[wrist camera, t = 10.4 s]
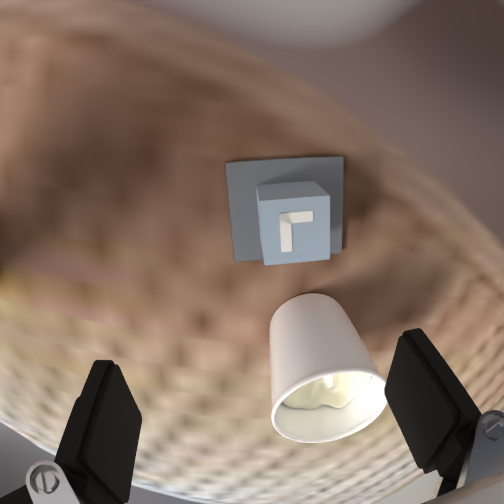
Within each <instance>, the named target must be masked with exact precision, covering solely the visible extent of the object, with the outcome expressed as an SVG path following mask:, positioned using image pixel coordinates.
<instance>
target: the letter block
mask: <svg viewBox="0 0 504 504" xmlns="http://www.w3.org/2000/svg"><path fill="white" fill-rule="evenodd" d="M256 193H257V205H258V216H259V228H260V240H261V246H262V252H263V258H264V264H265V266H266V265H276V264H287V263H297V262H307V261H316V260H326V259H330V195H329V194H328V193H327V192H326V191H325V190H324V189H323V188H321V187H320V186H319V185H318V184H317V183H316V182H315V181H303V182H289V183H277V184H265V185H256Z"/></svg>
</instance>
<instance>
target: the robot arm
mask: <svg viewBox="0 0 504 504" xmlns="http://www.w3.org/2000/svg"><path fill="white" fill-rule="evenodd" d="M384 394H385V397H386V400H387V402H388V404H389V406H390V408H391V410H392V412H393V414H394V416H395V418H396V421H397V423H398V425H399V427H400V429H401V431H402V433H403V436H404V438H405V440H406V442H407V444H408V447H409V449H410V451H411V453H412V455H413V458H414V460H415V462H416V464H417V466H418V467H419V468H420V469H423V471H424V473H425V474H427V473H429V472H432V471H434V470H438V473H439V475H440V477H439V480H438V483H437V485H436V488H435V491H434V494H433V496H432V499H431V500H429V501H427V502H424V503H422V504H504V413H503V412H501V411H498V410H490V411H487V412H485V413H483V414H481V412H480V411H479V409H478V408H477V406H476V405H475V403H474V402H473V400H472V399H471V397H470V396H469V394H468V393H467V391H466V390H465V388H464V387H463V385H462V384H461V383H460V381H459V380H458V378H457V377H456V375H455V374H454V373H453V371H452V370H451V368H450V367H449V366H448V364H447V363H446V361H445V360H444V359H443V357H442V356H441V355H440V353H439V352H438V350H437V349H436V348H435V346H434V345H433V344H432V342H431V341H430V340H429V338H428V337H427V336H426V334H425V333H424V332H423V331H422V330H421V329H420V328H417V329H412V330H408V331H404V332H403V334H402V336H400V337H399V339H398V342H397V346H396V350H395V354H394V357H393V361H392V364H391V368H390V371H389V375H388V378H387V381H386V384H385V388H384ZM141 424H142V416H141V413H140V411H139V409H138V407H137V405H136V403H135V400H134V398H133V396H132V394H131V392H130V390H129V388H128V385H127V383H126V381H125V379H124V376H123V374H122V372H121V369H120V367H119V366H118V365H115V364H114V362H113V361H112V360H96V361H94V363H93V366H92V368H91V370H90V373H89V375H88V378H87V380H86V383H85V385H84V388H83V390H82V393H81V395H80V397H78V398H77V400H76V401H75V404H74V406H73V409H72V412H71V414H70V417H69V420H68V422H67V425H66V428H65V431H64V434H63V436H62V439H61V442H60V445H59V448H58V451H57V454H56V457H55V460H54V462H52V461H40V462H37V463H36V464H34V465H32V467H31V468H30V469H29V471H28V473H27V475H26V485H24V486H22V487H21V488H19V489H17V490H15V491H13V492H11V493H9V494H7V495H5V496H3V497H1V498H0V504H124V503H127V502H128V500H129V494H130V488H131V482H132V475H133V469H134V463H135V457H136V451H137V446H138V440H139V435H140V429H141Z"/></svg>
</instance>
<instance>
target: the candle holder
mask: <svg viewBox="0 0 504 504" xmlns="http://www.w3.org/2000/svg"><path fill="white" fill-rule="evenodd" d="M269 340H270V367H271V394H272V413H271V419H272V423H273V426H274V428H275V429H276V430H277V431H278V432H279V433H280V434H281V435H283V436H284V437H286V438H288V439H291V440H294V441H298V442H306V443H319V442H327V441H332V440H336V439H340V438H343V437H346V436H348V435H351V434H353V433H355V432H357V431H359V430H361V429H362V428H364V427H366V426H367V425H368V424H370V423H371V422H372V421H373V420H375V419H376V418H377V417H378V416H379V415H380V413H381V412H382V411H383V409H384V408H385V406H386V404H387V400H386V397H385V394H384V388H385V384H386V380H385V378H384V377H383V376H382V374H381V373H380V371H379V369H378V367H377V365H376V364H375V362H374V360H373V358H372V357H371V355H370V353H369V351H368V350H367V348H366V346H365V344H364V343H363V341H362V339H361V338H360V336H359V334H358V332H357V331H356V329H355V327H354V326H353V324H352V322H351V321H350V319H349V317H348V316H347V314H346V312H345V311H344V309H343V308H342V306H341V305H340V304H339V303H338V302H337V301H336V300H335V299H333V298H331V297H329V296H327V295H324V294H318V293H308V294H303V295H299V296H296V297H294V298H291V299H290V300H288V301H286V302H285V303H284V304H282V305H281V306H280V307H279V308H278V309H277V311H276V312H275V313H274V315H273V317H272V319H271V322H270V329H269Z"/></svg>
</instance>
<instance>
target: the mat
mask: <svg viewBox="0 0 504 504" xmlns="http://www.w3.org/2000/svg"><path fill="white" fill-rule="evenodd" d="M225 165H226V177H227V187H228V198H229V209H230V219H231V230H232V240H233V250H234V260H235V262H239V261H251V260H264V258H263V252H262V246H261V240H260V228H259V216H258V205H257V193H256V185H265V184H277V183H289V182H303V181H315V182H316V183H317V184H318V185H319V186H320V187H321V188H323V189H324V190H325V191H326V192H327V193H328V194H329V195H330V254H337V253H341V251H342V227H343V174H344V169H343V157H342V156H331V157H299V158H278V159H262V160H247V161H235V162H226V163H225Z"/></svg>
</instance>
